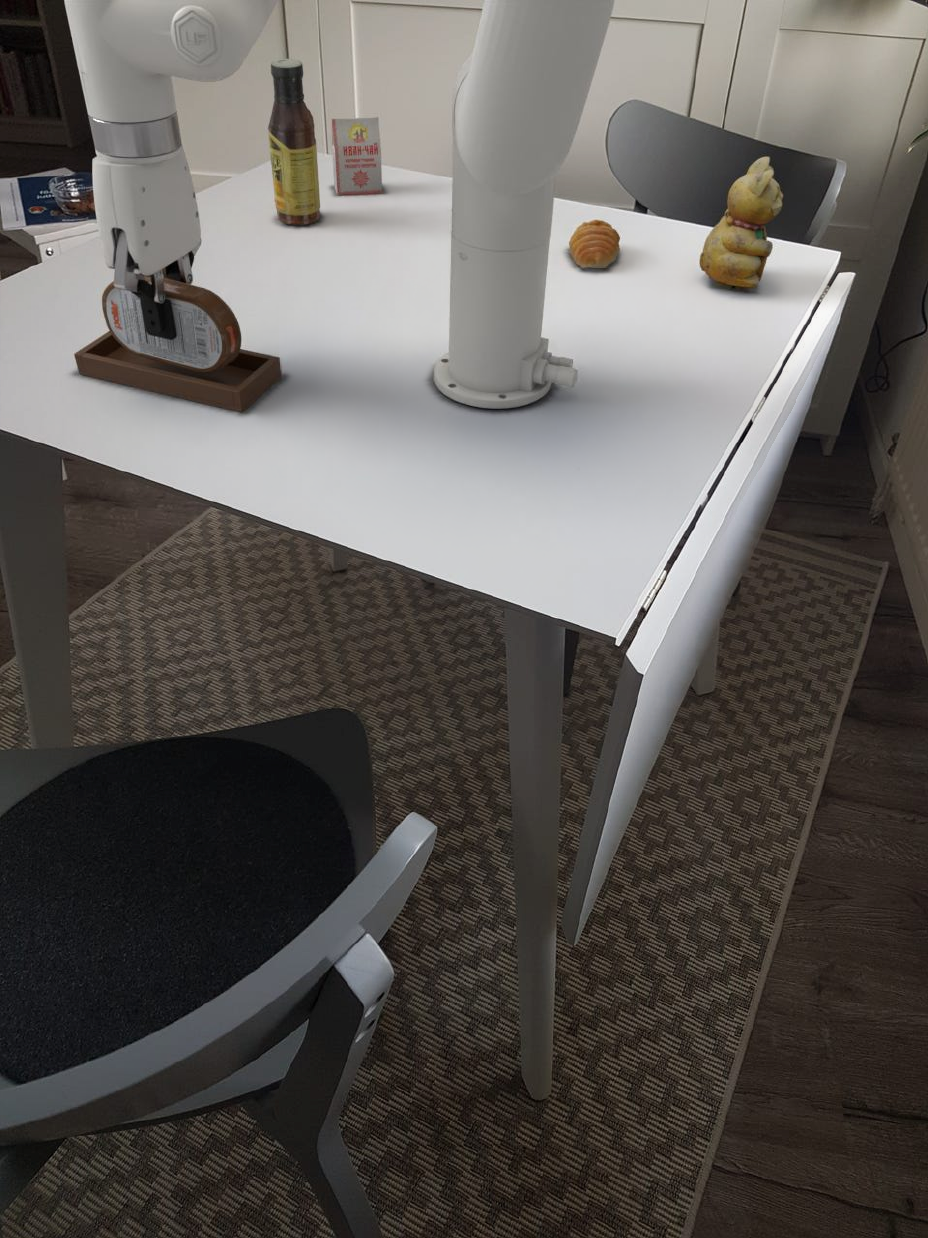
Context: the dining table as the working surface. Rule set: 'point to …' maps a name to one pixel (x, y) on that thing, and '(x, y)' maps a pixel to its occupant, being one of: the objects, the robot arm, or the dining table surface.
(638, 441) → the dining table surface
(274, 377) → the tray
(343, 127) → the tea box
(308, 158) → the sauce bottle
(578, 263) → the pastry
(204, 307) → the tin
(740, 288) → the decorative figurine
